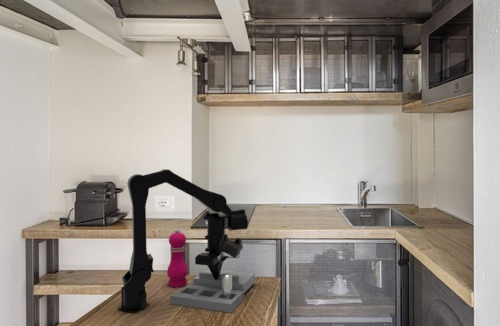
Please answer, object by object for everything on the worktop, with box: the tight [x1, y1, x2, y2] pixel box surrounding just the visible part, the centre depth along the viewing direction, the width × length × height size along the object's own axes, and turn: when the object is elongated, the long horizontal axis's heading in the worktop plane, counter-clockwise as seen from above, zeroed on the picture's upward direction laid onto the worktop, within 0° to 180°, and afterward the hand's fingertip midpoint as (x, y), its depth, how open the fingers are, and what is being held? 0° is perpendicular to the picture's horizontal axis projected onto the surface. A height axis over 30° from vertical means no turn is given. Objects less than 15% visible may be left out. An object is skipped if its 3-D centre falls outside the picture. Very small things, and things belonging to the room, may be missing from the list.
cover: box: [192, 268, 256, 294], centre depth 124 cm, size 18×11×5 cm, turn 71°
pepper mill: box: [166, 227, 189, 288], centre depth 127 cm, size 7×7×20 cm
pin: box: [222, 273, 232, 299], centre depth 110 cm, size 3×3×9 cm
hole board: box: [170, 283, 245, 314], centre depth 112 cm, size 20×11×2 cm, turn 71°
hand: (216, 279), depth 117 cm, fingers closed
